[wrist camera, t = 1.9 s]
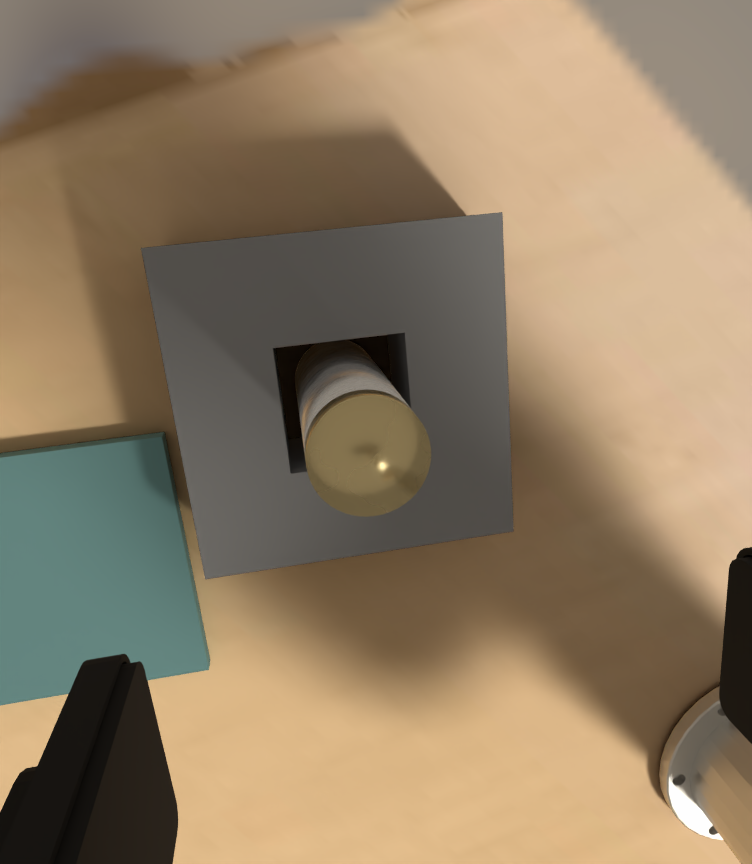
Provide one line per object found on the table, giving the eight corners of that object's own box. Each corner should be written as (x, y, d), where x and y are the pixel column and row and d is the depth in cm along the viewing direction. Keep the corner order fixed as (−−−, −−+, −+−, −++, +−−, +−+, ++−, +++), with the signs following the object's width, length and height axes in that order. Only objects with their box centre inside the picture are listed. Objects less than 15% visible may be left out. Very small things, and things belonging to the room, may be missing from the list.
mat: (164, 431, 32) (161, 436, 31) (210, 660, 36) (208, 669, 35) (-125, 469, 30) (-135, 475, 29) (-44, 703, 34) (-52, 714, 33)
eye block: (467, 215, 31) (502, 212, 26) (481, 491, 35) (513, 531, 30) (162, 246, 29) (141, 247, 25) (215, 530, 33) (205, 579, 29)
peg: (372, 334, 32) (426, 389, 20) (380, 413, 33) (435, 506, 22) (289, 343, 31) (298, 405, 20) (300, 423, 33) (314, 525, 21)
